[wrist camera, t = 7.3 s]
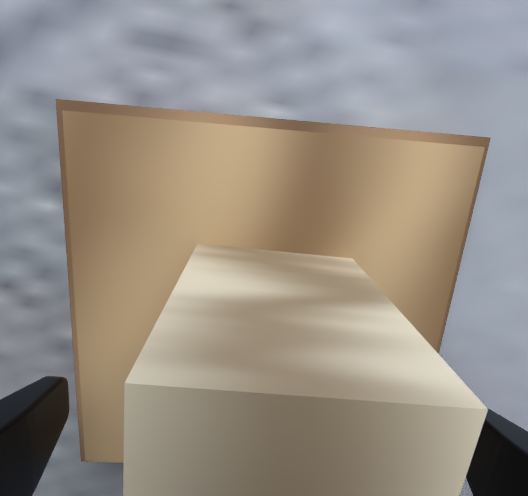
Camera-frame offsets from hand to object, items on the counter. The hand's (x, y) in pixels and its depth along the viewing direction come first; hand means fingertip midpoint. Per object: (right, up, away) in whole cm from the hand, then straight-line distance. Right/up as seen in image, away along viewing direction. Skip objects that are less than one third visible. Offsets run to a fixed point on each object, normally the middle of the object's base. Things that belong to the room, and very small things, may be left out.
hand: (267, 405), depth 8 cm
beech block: (0, +1, +4) cm, 4 cm away
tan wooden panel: (0, +2, +6) cm, 6 cm away
